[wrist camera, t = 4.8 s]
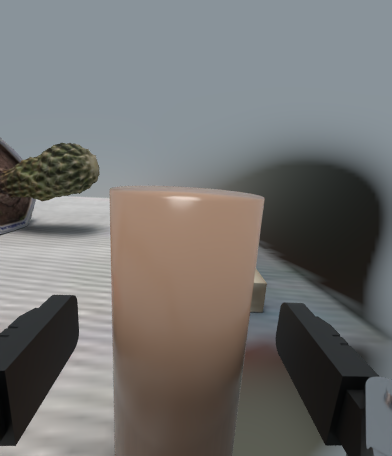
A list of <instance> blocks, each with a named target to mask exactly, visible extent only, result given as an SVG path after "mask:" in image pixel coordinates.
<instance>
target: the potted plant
mask: <svg viewBox="0 0 392 456" xmlns="http://www.w3.org/2000/svg"><path fill="white" fill-rule="evenodd" d="M98 176H99V165H98V163H97V159H96V156H95V155H93V154H91V153H90V151H89V150H88V149H84V148H82V147H81V146H80V145H76V144H71V143H68V144H65V143H60V144H57V145H53V146H52V147H51V148H49V149H47V150H46V151H44V152H43V153H42V154H41V155H39V156H37V157H34V158H32V157H30V158H28V159H26V160H22V158H21V157H20V156H19V155H18V154H17V153H16V152H15V151H14V149H12V148H11V147H10V146H9V145H8V144H7V143H6V142H4V141H3V140H2V138H0V234H4V233H7V232H10V231H14V230H16V229H20V228H23V227H25V226H27V225H28V224H29V222H30V219H31V216H32V212H33V209H34V204H35V201H36V199H38V200H41V201H46V200H50V199H52V198H54V197H61V196H68V195H70V194H77V193H79V194H80V193H81V192H82V191H85V190H86V189H89V188H90V187H91V185H92V184H93V183H95V182H97V180H98Z"/></svg>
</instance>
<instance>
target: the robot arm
mask: <svg viewBox="0 0 392 456" xmlns="http://www.w3.org/2000/svg"><path fill="white" fill-rule="evenodd" d="M78 337H79V323H78V305H77V298H76V296H74V295H52V296H51V297H50V298H49V299H48V300H47V301H45V302H44V303H43V304H42V305H41V306H40V307H39V308H34V309H32V310H30V311H29V312H27V313H25V314H23V315H21V316H19V317H18V318H17V319H16V320H15V321H14V322H13V323H12V324H10V325H9V326H8V329H5V330H4V331H3V332H1V333H0V446H16V444H17V443H18V441H19V439H20V438H21V436H22V435H23V433H24V431H25V430H26V428H27V426H28V425H29V423H30V421H31V420H32V418H33V417H34V415H35V413H36V412H37V410H38V408H39V407H40V405H41V403H42V402H43V400H44V399H45V397H46V395H47V394H48V392H49V390H50V389H51V387H52V385H53V384H54V382H55V381H56V379H57V377H58V376H59V374H60V372H61V371H62V369H63V367H64V366H65V364H66V363H67V361H68V359H69V358H70V356H71V354H72V353H73V351H74V349H75V347H76V345H77V342H78ZM276 347H277V351H278V354H279V356H280V358H281V360H282V361H283V364H284V365H285V368H286V369H287V371H288V373H289V375H290V377H291V379H292V381H293V383H294V385H295V387H296V389H297V391H298V393H299V395H300V397H301V399H302V400H303V402H304V404H305V406H306V408H307V410H308V412H309V414H310V416H311V418H312V420H313V422H314V424H315V426H316V427H317V430H318V432H319V434H320V436H321V437H322V439H323V441H324V443H325V445H342V446H343V448H344V450H345V451H346V453H347V454H346V456H392V379H388V378H384V377H379V375H377V374H376V373H375V371H374V370H373V369H372V368H371V367H370V366H369V365H368V364H367V363H366V362H365V361H364V360H363V359H362V358H361V357H360V355H359V354H358V353H357V352H356V351H355V350H354V349H353V348H352V347H351V346H349V345H348V343H347V342H346V341H345V340H344V339H343V338H342V337H340V334H339V333H338V332H337V331H336V330H335V329H334V328H333V327H332V326H331V325H330V324H328V323H327V322H325V321H324V320H322V319H321V318H319V317H315V316H314V314H313V313H312V312H311V311H310V310H309V309H308V308H307V307H306V306H305V305H304V304H303V303H282V305H281V308H280V314H279V320H278V326H277V332H276Z"/></svg>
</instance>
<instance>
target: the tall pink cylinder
mask: <svg viewBox="0 0 392 456" xmlns="http://www.w3.org/2000/svg"><path fill="white" fill-rule="evenodd" d="M263 205H264V198H263V197H262V196H258V195H254V194H249V193H242V192H235V191H227V190H217V189H206V188H191V187H174V186H121V187H113V188H110V234H111V285H112V337H113V388H114V439H115V456H232V451H233V443H234V435H235V427H236V419H237V411H238V404H239V396H240V388H241V380H242V372H243V364H244V356H245V348H246V340H247V332H248V324H249V316H250V308H251V301H252V293H253V285H254V277H255V269H256V261H257V253H258V245H259V237H260V229H261V221H262V213H263Z"/></svg>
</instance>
